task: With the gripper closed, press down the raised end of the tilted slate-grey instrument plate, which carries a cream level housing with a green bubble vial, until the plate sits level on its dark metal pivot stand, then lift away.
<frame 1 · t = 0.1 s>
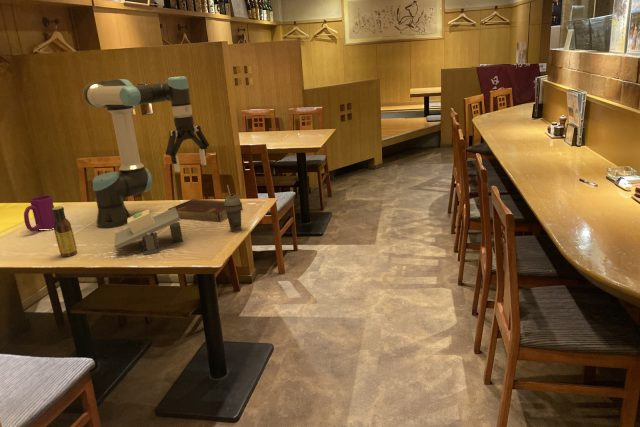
hand: (191, 167, 212), 28 cm above the table, tool pointing down, fingers open, 13 cm apart
sauce bottle: (69, 255, 204), on the table
hardback book: (206, 215, 245), on the table
instrument plate: (144, 221, 205), point 10 cm above the table, hinge at -16.0°
beverage cup: (236, 230, 218), on the table
mug: (42, 231, 239), on the table
pivot stand: (151, 244, 208), on the table
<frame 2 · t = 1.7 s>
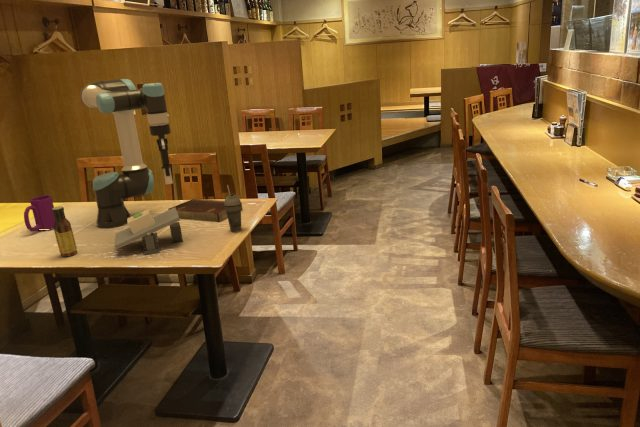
hand: (169, 183, 204), 24 cm above the table, tool pointing down, fingers closed
nothing on the table moved.
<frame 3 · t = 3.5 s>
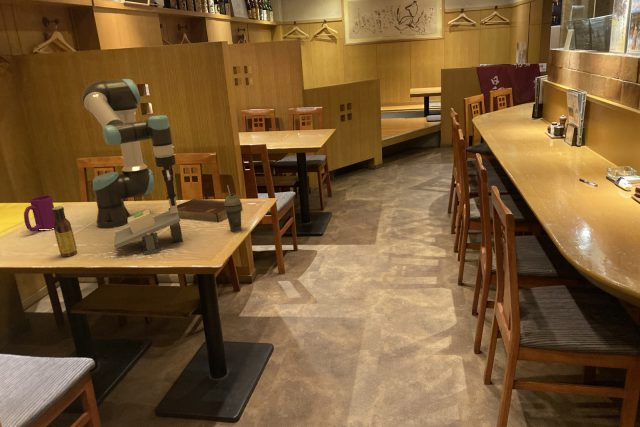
hand: (174, 212, 208), 12 cm above the table, tool pointing down, fingers closed
instrument plate: (144, 221, 205), point 10 cm above the table, hinge at -14.3°, touching gripper
everything else where it was.
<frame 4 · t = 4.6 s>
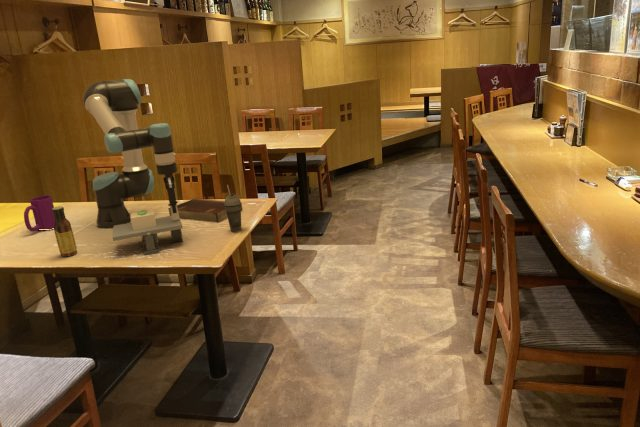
hand: (175, 219, 209), 9 cm above the table, tool pointing down, fingers closed
instrument plate: (146, 221, 205), point 10 cm above the table, hinge at -0.6°, touching gripper
everything else where it was.
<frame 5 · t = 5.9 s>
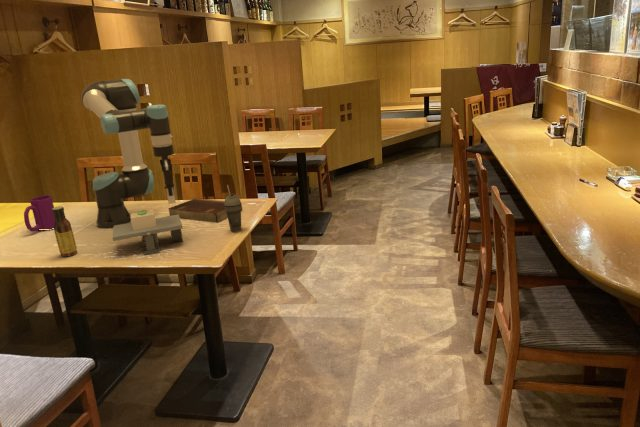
hand: (172, 202, 207), 16 cm above the table, tool pointing down, fingers closed
instrument plate: (146, 221, 205), point 10 cm above the table, hinge at -0.5°
everything else where it was.
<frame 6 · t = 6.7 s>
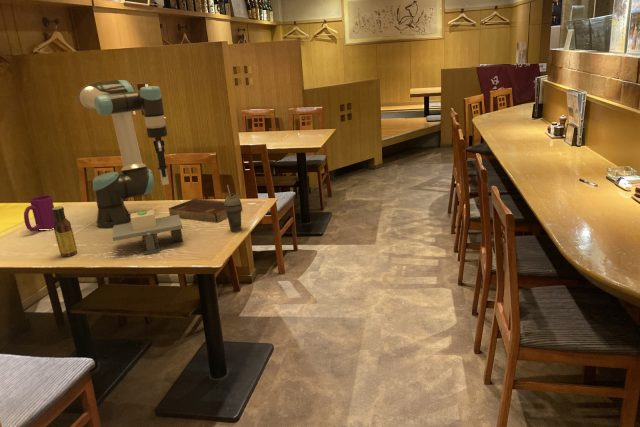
hand: (165, 184, 209), 23 cm above the table, tool pointing down, fingers closed
nothing on the table moved.
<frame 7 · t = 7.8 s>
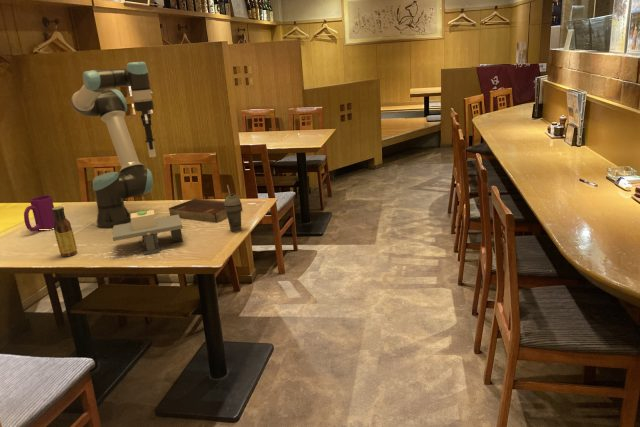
hand: (152, 156, 219), 32 cm above the table, tool pointing down, fingers closed
nothing on the table moved.
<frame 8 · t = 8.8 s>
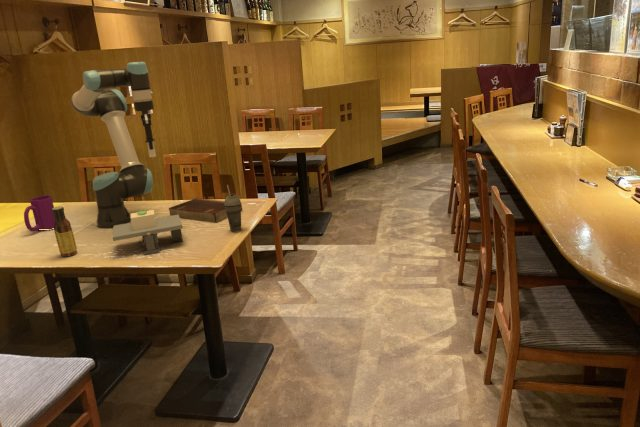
hand: (152, 156, 219), 32 cm above the table, tool pointing down, fingers closed
nothing on the table moved.
at the end: instrument plate at +0° (first picture: -16°); beverage cup moved 0.2 cm from its start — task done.
